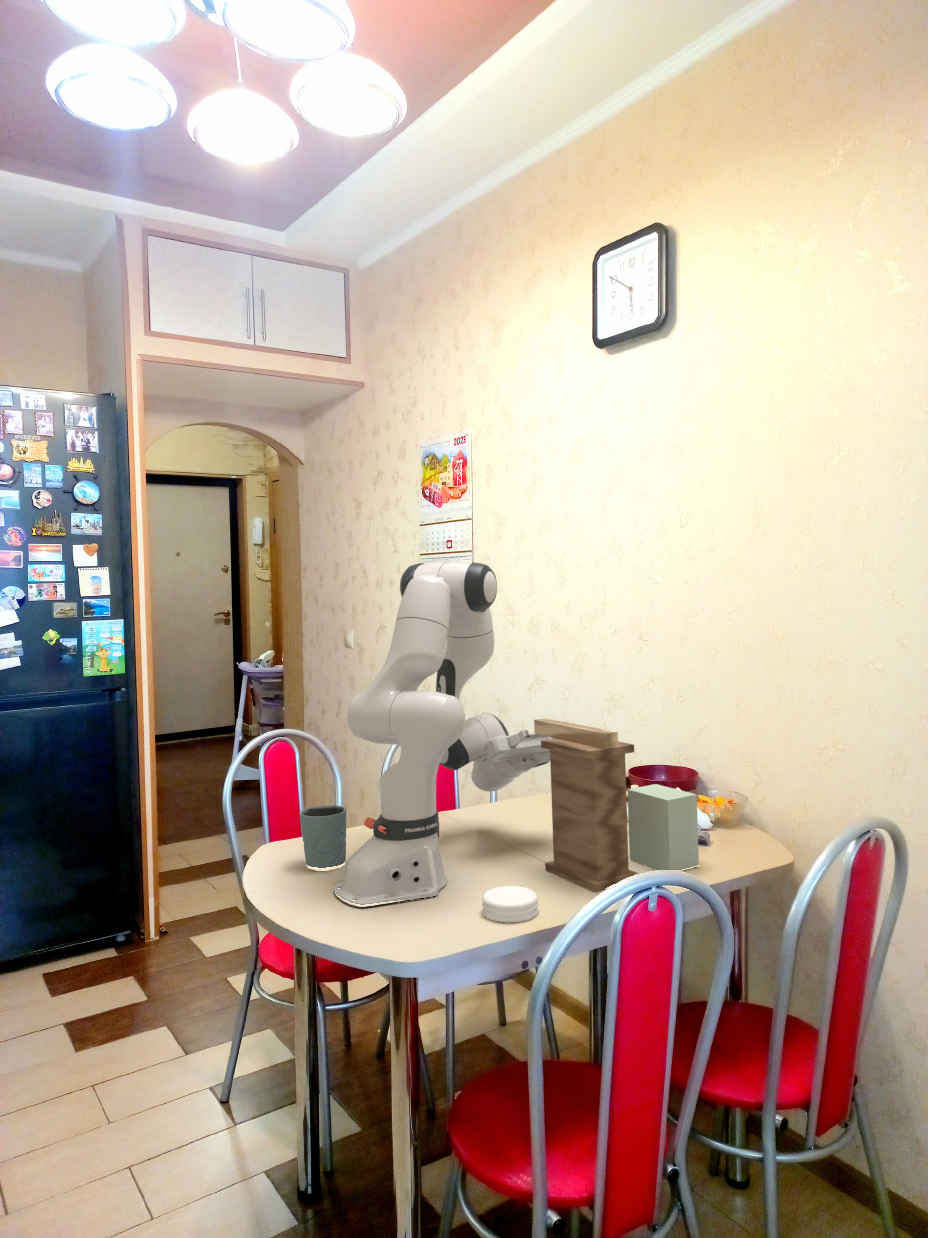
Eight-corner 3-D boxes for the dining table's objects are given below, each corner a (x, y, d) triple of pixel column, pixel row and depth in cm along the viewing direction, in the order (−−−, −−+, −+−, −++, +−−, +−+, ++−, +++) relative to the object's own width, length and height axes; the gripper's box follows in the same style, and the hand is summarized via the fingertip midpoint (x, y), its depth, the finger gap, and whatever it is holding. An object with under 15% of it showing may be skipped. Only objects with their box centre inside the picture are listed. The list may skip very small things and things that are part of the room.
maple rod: (606, 749, 159) (605, 733, 159) (534, 733, 180) (534, 719, 180) (618, 747, 160) (617, 731, 160) (545, 732, 181) (545, 718, 181)
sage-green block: (670, 874, 166) (667, 800, 166) (629, 859, 176) (627, 789, 176) (698, 866, 170) (696, 794, 170) (657, 852, 180) (655, 784, 180)
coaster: (549, 912, 149) (548, 893, 149) (512, 929, 142) (511, 909, 142) (508, 899, 156) (508, 881, 156) (471, 915, 149) (470, 895, 149)
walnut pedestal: (594, 892, 158) (589, 751, 157) (545, 870, 171) (540, 740, 171) (638, 880, 163) (634, 744, 162) (587, 860, 177) (583, 734, 176)
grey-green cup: (327, 875, 173) (325, 818, 173) (291, 868, 178) (289, 813, 178) (358, 861, 182) (356, 807, 181) (323, 855, 187) (321, 802, 187)
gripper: (471, 747, 186) (499, 722, 175) (545, 737, 196) (576, 713, 185) (479, 774, 183) (508, 750, 172) (554, 762, 193) (585, 739, 183)
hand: (544, 731), depth 179 cm, fingers open, 8 cm apart
